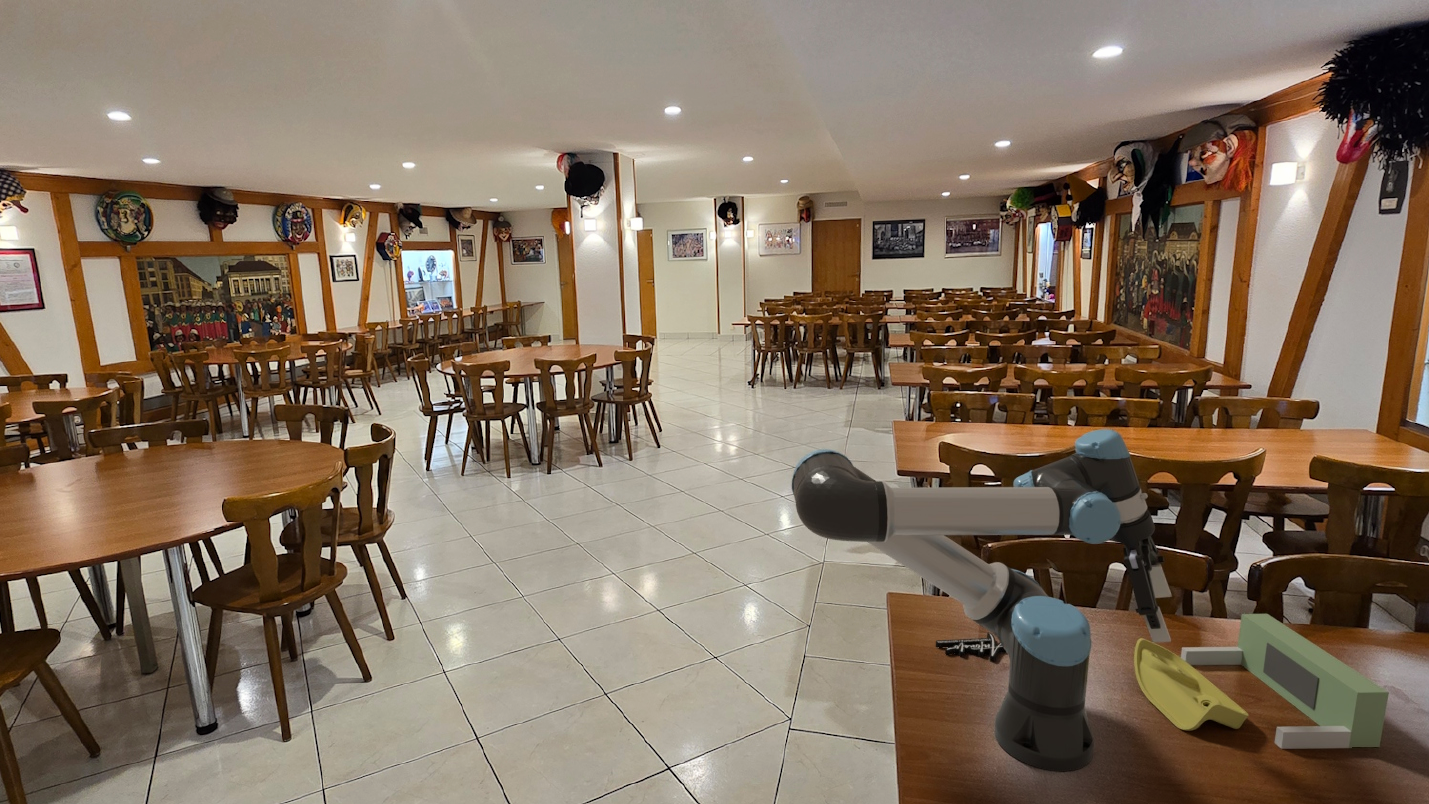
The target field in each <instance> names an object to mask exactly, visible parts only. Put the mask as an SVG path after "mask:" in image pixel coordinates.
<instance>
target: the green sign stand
mask: <svg viewBox="0 0 1429 804" xmlns="http://www.w3.org/2000/svg"><path fill="white" fill-rule="evenodd" d="M1239 625H1240V626H1239V632H1238V640H1237V646H1200V647H1198V646H1195V647H1190V646H1188V647H1184V646H1183V647H1181V654H1180V658H1182V659H1183V660H1184V661H1186V662H1187V663H1188V664H1190V665H1191V666H1231V665H1232V666H1234V665H1235V666H1237V665H1241V666H1242V667H1243V666H1244V667H1243V668H1245V669H1246V670H1248V672H1249V673H1251V674H1253V675H1254V676H1255V677H1256V678H1257V679H1258V680H1259V681H1262V682H1263V683H1264V684H1265V685H1267V686H1268V687H1269V688H1270V689H1272V690H1274V692H1276V693H1277V694H1278V695H1279V696H1281V697H1282V698H1283V699H1285V700H1286V701H1287V702H1288V703H1290V704H1291V705H1293V706H1294V707H1295V708H1296V709H1298V710H1299V711H1300V712H1301V713H1303V714H1304V715H1305V716H1307V717H1308V718H1309V719H1311V721H1313V722H1315V723H1316V724H1317V725H1316V726H1315V725H1313V726H1311V725H1310V726H1309V725H1306V726H1303V725H1301V726H1291V725H1290V726H1276V730H1275V737H1274V744H1275V745H1276V746H1277V747H1279V748H1280V750H1282V749H1284V750H1287V749H1291V750H1292V749H1293V750H1294V749H1295V750H1297V749H1305V750H1306V749H1353V748H1352V747H1379V748H1380V747H1381V740H1382V734H1383V729H1384V724H1385V718H1386V717H1385V716H1386V712H1387V705H1388V699H1389V694H1390V692H1389V691H1388V690H1386V689H1385V688H1383V687H1381V686H1380V685H1378V684H1377V683H1375V682H1374V681H1372V680H1371V679H1369V678H1367V676H1364V675H1363V674H1361V673H1359V672H1358V671H1357V670H1355V669H1354V668H1352V667H1350V666H1349V665H1348V664H1345V662H1343V661H1341V660H1339V659H1338V658H1337V657H1335V656H1334V655H1331V654H1330V653H1329V652H1327V651H1326V650H1324V649H1323V648H1321V647H1319V646H1318V645H1317V644H1315V643H1314V642H1312V641H1310V640H1309V639H1307V638H1306V637H1304V636H1303V635H1301V634H1300V633H1297V632H1296V631H1294V630H1293V629H1291V628H1290V627H1288V626H1287V625H1286V624H1284V623H1282V622H1281V621H1279V620H1277V619H1276V618H1275V617H1273V616H1271V615H1270V614H1268V613H1241V616H1240V624H1239Z"/></svg>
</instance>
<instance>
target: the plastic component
mask: <svg viewBox="0 0 1429 804" xmlns="http://www.w3.org/2000/svg"><path fill="white" fill-rule="evenodd" d="M1133 654H1134V655H1133V656H1134V657H1133V663H1134V664H1133V666H1134V673H1135V677H1136V680H1137V683H1138V686H1139V687H1140V689H1141V691H1142V692H1143V694H1144V695H1145V697H1146V698H1147V699H1148V701H1149V702H1151V704H1153V706H1154V707H1156V708H1157V709H1158V710H1159V711H1160V712H1161V713H1162V714H1163V715H1164V716H1165V718H1167V719H1168V720H1169V721H1170V722H1171V723H1172V724H1173V725H1174V726H1175V727H1176V728H1178V729H1179V730H1183V731H1188V732H1190V731H1191V732H1192V731H1195V730H1197V729H1198V728H1200V727H1201V725H1202V724H1203V723H1205V722H1206V721H1209V720H1211V721H1214V722H1217V723H1218V724H1222V725H1224V726H1226V727H1229V728H1232V729H1235V730H1237V729H1238V730H1239V729H1240V728H1241V726H1242V725H1243V724H1244V722H1245V721H1246V720H1247V718H1248V717H1249V713H1248V712H1247V711H1246V710H1245V709H1244V708H1243V707H1241V706H1240V705H1239V704H1238V703H1237V702H1235V701H1234V700H1233V699H1231V697H1229V696H1228V695H1227V694H1226V693H1225V692H1224V691H1222V690H1221V689H1220V688H1219V687H1217V686H1216V685H1215V684H1213V683H1212V682H1211V681H1210V680H1209V679H1208V678H1206V677H1205V675H1203V674H1202V673H1201V672H1200V671H1198V670H1197V669H1196V668H1195V667H1193V665H1190V664H1188V663H1187V662H1186V661H1184V660H1183V659H1182V658H1181V656H1179V655H1177V654H1176V653H1174V652H1172V651H1171V650H1169V649H1168V648H1167V647H1166V648H1165V647H1164V646H1161V645H1159V644H1157V642H1156V643H1153V641H1152V640H1151V641H1150V640H1148V639H1145V638H1143V637H1141V638H1139V639H1137V641H1136V644H1135V646H1134V653H1133Z"/></svg>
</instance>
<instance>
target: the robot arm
mask: <svg viewBox="0 0 1429 804" xmlns="http://www.w3.org/2000/svg"><path fill="white" fill-rule="evenodd" d="M1074 447H1075V453H1073V454H1070V455H1068V456H1066V457H1065V458H1061V459H1058V460H1056V461H1054V462H1051V463H1049V464H1046V465H1043V466H1040V467H1038V468H1035V469H1030V470H1029V471H1028V472H1025V473H1024V474H1022V475H1019V476H1018V477H1016V478H1015V479H1014V480H1013V483H1012V484H1013V486H994V487H993V486H988V487H983V486H982V487H981V486H980V487H979V486H977V487H976V486H975V487H973V486H972V487H971V486H970V487H969V486H968V487H965V486H964V487H951V486H950V487H942V486H941V487H891V486H889V485H888V484H887V483H886V482H885V481H880V480H879V481H878V480H876V479H874V478H872V477H871V476H869V475H868V474H866V473H865V472H863V470H862V471H861V470H860V469H859V468H857V467H856V466H854V465H853V462H852V461H851V460H850V459H849V458H848V457H847V456H846V455H845V454H843V453H841V452H839V451H836V450H833V449H827V448H826V449H825V448H824V449H817V450H814V451H811V452H809V453H808V454H805V456H803V457H802V458H801V459H800V460H799V461H798V463H797V464H796V466H795V468H794V470H793V473H792V479H791V491H792V495H793V497H794V501H795V509H796V512H797V515H798V517H799V519H800V521H801V523H802V524H803V526H805V528H807V529H808V530H809V531H811V532H812V533H813V534H814V535H816V536H819V537H822V538H824V539H829V540H834V541H841V542H854V543H855V542H858V543H859V542H860V543H863V542H864V543H867V544H869V545H871V546H873V547H874V548H876V550H879V551H880V552H882V553H883V554H885V555H886V556H888V557H889V558H891V559H892V560H894V561H896V562H897V563H899V564H901V565H902V566H903V567H905V568H906V569H908V570H910V571H911V572H913V573H914V574H916V575H917V576H919V577H920V578H922V579H923V580H925V581H927V582H928V583H930V584H931V585H933V586H934V587H936V588H938V589H939V590H940V591H942V592H944V593H945V594H947V595H949V596H950V597H951V598H953V599H955V600H956V601H957V602H960V603H961V604H962V605H963V607H962V608H963V610H964V611H963V612H964V614H965V616H966V617H967V618H969V619H970V620H972V621H973V622H974V623H976V624H978V625H979V626H981V627H982V628H984V629H986V630H987V631H988V632H989V633H991V634H992V635H993V636H994V637H996V638H997V639H998V641H999V643H1000V642H1001V644H1002V646H1003V647H1004V649H1005V650H1006V652H1005V653H1006V654H1007V655H1008V657H1009V669H1008V670H1009V672H1008V687H1007V692H1006V694H1005V697H1004V698H1003V700H1002V703H1001V704H1000V707H999V709H998V712H997V713H996V715H995V719H994V731H993V732H994V737H995V739H996V741H997V743H998V744H999V746H1000V747H1001V748H1003V750H1004V751H1005V752H1006V753H1008V754H1009V755H1010V756H1012V757H1013V758H1014V759H1017V760H1019V761H1020V762H1023V763H1025V764H1027V765H1030V766H1032V767H1035V768H1039V769H1042V770H1047V771H1056V772H1069V771H1070V772H1071V771H1075V770H1076V771H1077V770H1079V769H1081V768H1083V767H1086V766H1087V765H1088V764H1089V763H1090V762H1091V761H1092V759H1093V754H1094V745H1095V744H1094V743H1095V742H1094V736H1093V732H1092V729H1091V725H1090V722H1089V719H1088V715H1087V711H1086V708H1085V705H1086V695H1087V684H1088V675H1089V674H1088V673H1089V666H1090V665H1089V664H1090V663H1089V662H1090V654H1091V650H1092V636H1091V634H1092V633H1091V631H1092V630H1091V626H1090V623H1089V620H1088V619H1087V617H1086V615H1085V614H1084V613H1083V612H1082V611H1081V610H1080V609H1078V608H1077V607H1076V606H1074V605H1072V604H1071V603H1065V602H1064V600H1061V599H1059V598H1055V597H1051V596H1049V595H1048V594H1047V593H1046V592H1045V590H1044V588H1043V587H1042V586H1041V585H1040V584H1039V583H1038V581H1037V580H1035V579H1034V578H1033V577H1031V576H1030V575H1028V574H1026V573H1024V572H1022V571H1020V570H1017V569H1014V568H1011V567H1008V565H1006V564H1005V563H1003V562H999V561H998V562H997V561H995V562H992V563H987V562H986V561H984V560H983V559H981V558H979V557H978V556H976V555H975V554H974V553H972V552H971V551H969V550H968V549H966V548H965V547H963V546H961V545H960V544H958V543H956V542H955V541H954V540H952V539H950V538H949V537H947V536H998V535H999V536H1015V535H1016V536H1017V535H1018V536H1023V535H1025V536H1029V535H1030V536H1031V535H1033V536H1039V535H1041V536H1045V535H1047V536H1049V535H1051V536H1053V535H1054V536H1056V535H1057V536H1058V535H1059V536H1073V537H1075V539H1077V540H1080V541H1082V542H1084V543H1087V544H1091V545H1098V544H1103V543H1105V542H1108V541H1109V540H1111V541H1113V542H1115V543H1117V544H1118V543H1119V544H1122V545H1124V547H1123V548H1122V550H1123V555H1124V558H1123V561H1124V562H1125V563H1124V564H1125V566H1126V568H1127V572H1128V575H1129V579H1130V582H1131V587H1132V590H1133V591H1132V592H1133V593H1134V594H1133V595H1134V599H1135V603H1136V606H1137V608H1135V612H1136V613H1137V614H1139V616H1143V619H1144V622H1145V624H1146V626H1147V630H1148V632H1149V635H1150V637H1151V638H1150V639H1151V642H1153V643H1156V644H1157V643H1171V641H1172V638H1171V636H1170V633H1169V630H1168V627H1167V624H1166V622H1165V619H1164V616H1163V614H1162V611H1161V608H1160V606H1158V604H1157V599H1160V598H1170V597H1172V593H1171V589H1170V587H1169V584H1168V581H1167V578H1166V575H1165V572H1164V570H1163V567H1162V564H1163V563H1165V560H1164V556H1163V555H1159V554H1160V553H1159V550H1158V548H1157V546H1156V544H1155V542H1154V540H1153V538H1152V535H1153V534H1154V532H1155V531H1156V526H1155V523H1154V521H1153V518H1152V517H1153V516H1152V514H1151V512H1150V510H1149V509H1148V505H1147V501H1146V499H1147V498H1148V493H1146V492H1142V488H1141V485H1140V482H1139V479H1138V476H1137V474H1136V471H1135V467H1134V464H1133V462H1132V459H1131V453H1130V451H1129V449H1128V447H1127V445H1126V443H1125V440H1124V438H1123V437H1122V435H1121V434H1120V433H1119V432H1118V431H1116V430H1114V429H1111V428H1103V429H1102V428H1101V429H1096V430H1092V431H1089V432H1086V433H1084V434H1082V435H1081V436H1080V437H1078V438H1076V440H1075V442H1074ZM1161 563H1162V564H1161Z"/></svg>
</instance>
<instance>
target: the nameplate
mask: <svg viewBox="0 0 1429 804" xmlns="http://www.w3.org/2000/svg"><path fill="white" fill-rule="evenodd" d="M995 637H996V636H995V635H994V634H993V633H991V632H987V633H986V637H985V638H983V637H981V638H980V637H979V638H963V639H961V638H960V639H957V638H956V639H941V640H940V639H938V640H936V641H935V648H936V647H939V648H938V649H943V648H942V647H948V648H944V649H945V652H944V655H945V654H946V655H945V656H947V655H948V656H950V655H949V654H952V655H957V654H958V657H959V656H960V657H959V658H965V654H966V653H967V654H970V655H972V656H978V657H979V658H981V659H983V658H984V657H985V655H989V662H990V663H994V662H995V661H996V659H997V657H998V655H999V654H1001V653H1007V652H1006V650H1005V649H1004V647H1003V646H1002V644H1001V642H1000V641H999V642H998V643H997V642H996V638H995ZM954 653H956V654H954Z"/></svg>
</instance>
